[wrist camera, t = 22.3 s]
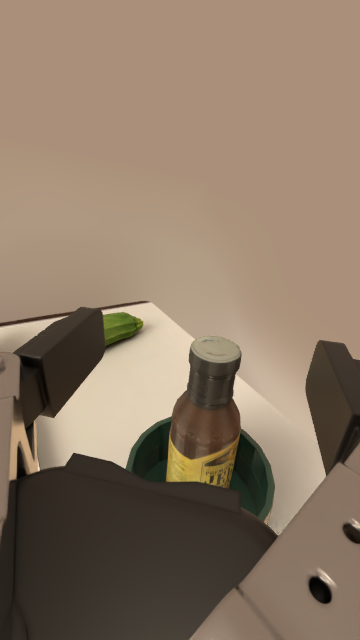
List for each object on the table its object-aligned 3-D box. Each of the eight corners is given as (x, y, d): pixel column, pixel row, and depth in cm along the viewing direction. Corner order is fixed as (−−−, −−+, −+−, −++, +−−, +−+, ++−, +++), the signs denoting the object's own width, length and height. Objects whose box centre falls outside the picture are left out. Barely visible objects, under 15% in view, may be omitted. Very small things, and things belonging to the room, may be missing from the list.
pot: (231, 446, 40) (238, 406, 37) (287, 571, 27) (306, 528, 24) (124, 463, 37) (122, 421, 33) (134, 613, 24) (132, 569, 21)
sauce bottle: (203, 555, 27) (231, 387, 19) (152, 513, 31) (154, 352, 22) (234, 500, 32) (267, 345, 23) (187, 469, 35) (200, 322, 26)
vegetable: (44, 317, 52) (137, 294, 65) (42, 341, 57) (129, 315, 69) (61, 349, 49) (155, 318, 62) (58, 371, 54) (145, 339, 67)
